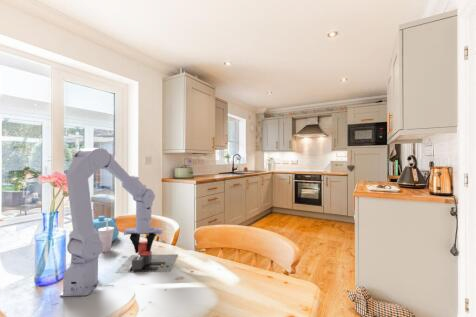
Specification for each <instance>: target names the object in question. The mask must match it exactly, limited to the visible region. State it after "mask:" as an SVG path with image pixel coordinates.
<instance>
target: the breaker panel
mask: <svg viewBox="0 0 476 317" xmlns="http://www.w3.org/2000/svg"><path fill="white" fill-rule="evenodd" d="M178 256H179V254H178V253H177V254H176V253H175V254H172V253H171V254H152V261H151V262H150V263H149V264H144V266H143V268H142V269H135V270H132V260H133V259H134V258H135V257H140V255H138V254H131V255H130V256H129V257H128V258H127V259H126V260H125V261H124V262H123V264H122V265H121V266H120V267H119V268H118V269H117V270H116V271H114V274H125V273H127V274H131V273H169V272H170V273H171V271H172V270H173V268H174V264H175V263H176V260H177V259H178Z"/></svg>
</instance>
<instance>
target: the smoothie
mask: <svg viewBox="0 0 476 317" xmlns="http://www.w3.org/2000/svg"><path fill="white" fill-rule="evenodd" d="M113 231H114V227H108V219H106V227H103V228H100V229H98V233H99V238H100V240H101V241H102V243H103V250H102V252H101V253H108V252H110V251H111V248H112V242H113V241H112V237H113Z"/></svg>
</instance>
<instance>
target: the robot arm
mask: <svg viewBox="0 0 476 317" xmlns="http://www.w3.org/2000/svg"><path fill="white" fill-rule="evenodd" d="M71 157H72V161H71V162H70V165H69V167H68V169H67V171H66V174H65V176H66V183H67V192H68V200H69V207H70V208H69V209H70V217H71V223H72V231H71V232H70V233H69V235H68V237H69V239H68V242H67V247H66V248H67V253H69V254H70V255H71V257H70V264H69V266H68V267H67V269H65V271H64V273H63V279H62V280H63V284H62V286H63V287H62V292H61V293H60V294H59V296H60V297H78V296H79V297H81V296H82V297H83V296H88V295H89V294H91V292H93V291H94V290H95V289H96V288H97V287H98V284H97V282H98V279H99V258H100V257H99V256H100V255H101V254H102V253H103V252H102V250H103V243H102V241H101V240H100V238H99V234H98V232H97V231H96V229H95V228H94V226H93V220H94V217H93V211H92V201H91V194H90V193H91V192H90V186H89V179H90V177H92V176H93V174H95V173H96V172H97V171H99V170H101V169H102V170H105V171H107V172H108V173H110V174H111V175H113V177H114V178H116V179H117V180H119V181H120V182H121V186H122V188H123V189H124V190H125V191H126V192H128V193H129V194H130V195H131V196H132V199H133V201H135V207H136V208H135V215H136V216H135V227H132V228H131V227H129V228H125V229H124V230H123V235H124V236H127V235H130V236H129V240H130V241H131V242H132V245H133V248H134V252H135V254H138V243H139V242H140V238H141V235H147V236H146V241H147V251H151V250H152V245H153V243H154V241H155V238H156V236H157V235H163V228H162V227H153V226H152V207H153V202H154V200H155V198H156V195H155V192H154V191H153V190H152V189H150V188H147V185H146V184H144V183H142V182H141V180H140V177H138V176H136V175H129V174H128V172H127V171H126V170H125V169H124V168H123V167H122V166H121V165H120V163H118V162H117V160H116V159H115V158H114V156H113V155H112V154H111V153H110V152H108V150H107V149H105V148H103V147H96V148H81V149H79V150H78V151H76V152H75V153H74V154H72V155H71Z"/></svg>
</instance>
